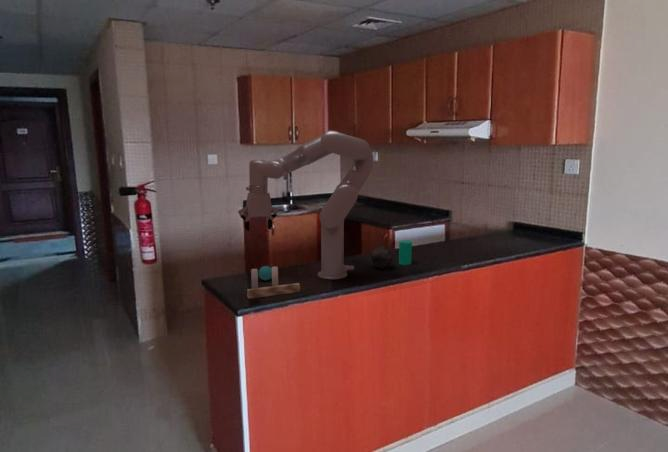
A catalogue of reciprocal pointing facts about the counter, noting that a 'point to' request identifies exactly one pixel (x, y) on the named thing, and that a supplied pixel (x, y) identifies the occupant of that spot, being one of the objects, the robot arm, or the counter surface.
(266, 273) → the ball
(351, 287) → the counter surface
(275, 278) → the cream pin
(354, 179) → the robot arm
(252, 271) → the grey pin
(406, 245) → the candle
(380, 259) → the decorative stone
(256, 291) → the oak rail
